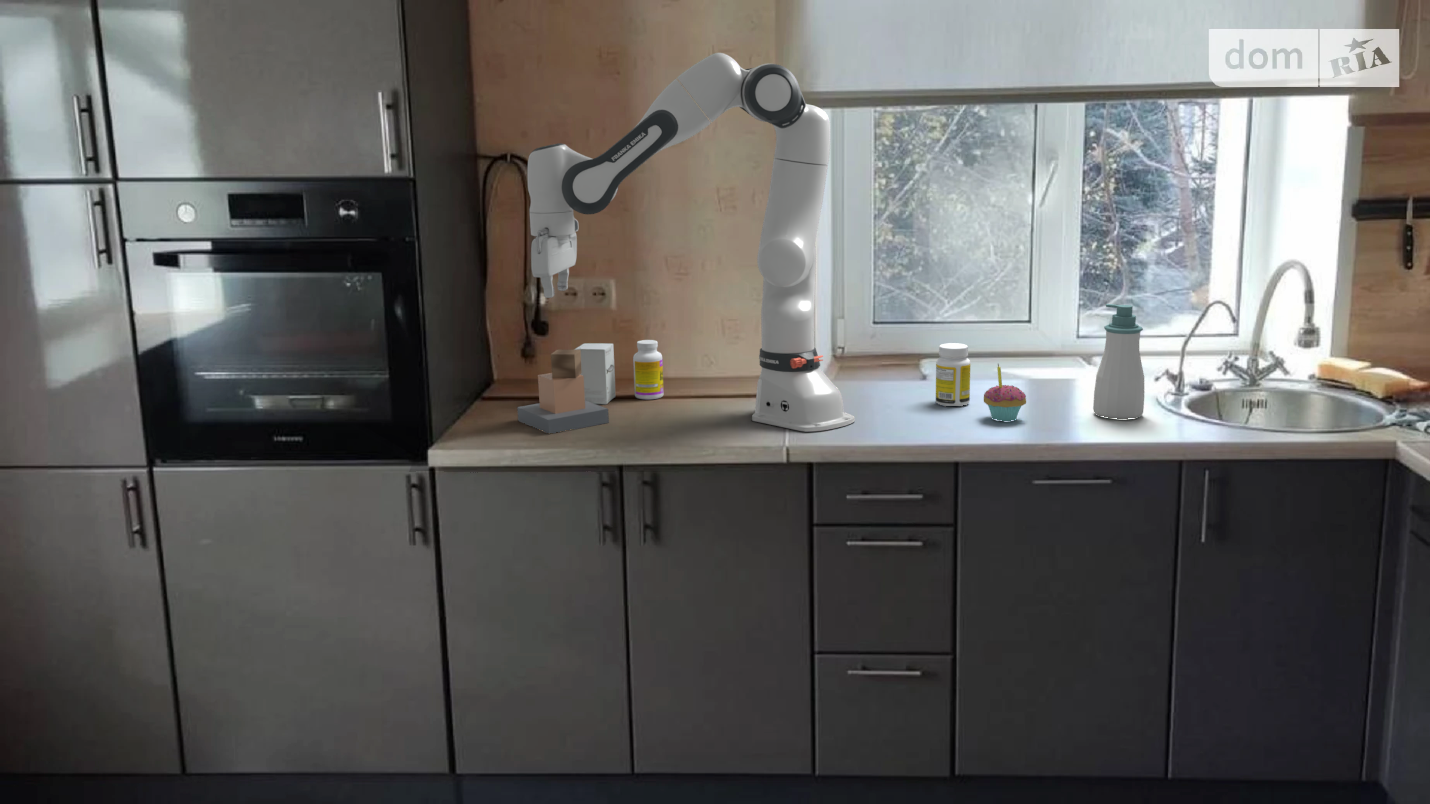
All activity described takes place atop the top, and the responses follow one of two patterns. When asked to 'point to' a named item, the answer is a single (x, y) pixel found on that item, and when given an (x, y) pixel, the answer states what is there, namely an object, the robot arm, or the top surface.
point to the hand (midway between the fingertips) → (556, 293)
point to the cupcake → (1004, 400)
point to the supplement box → (598, 372)
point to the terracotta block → (561, 393)
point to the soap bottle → (1120, 369)
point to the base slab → (562, 417)
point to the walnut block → (566, 363)
